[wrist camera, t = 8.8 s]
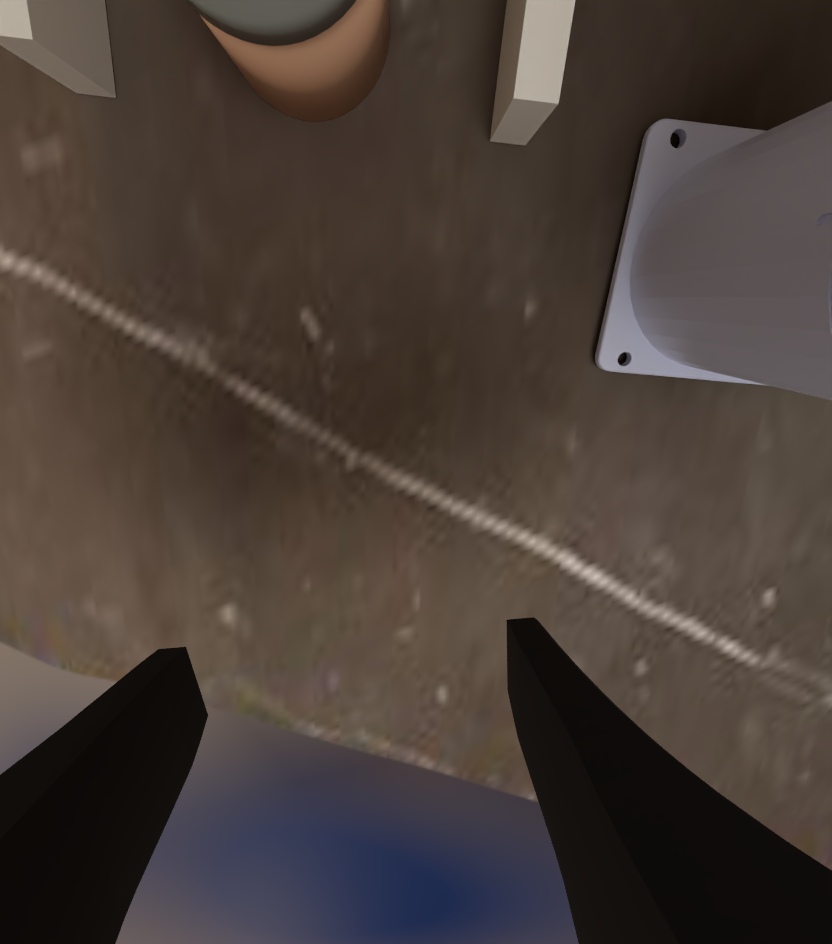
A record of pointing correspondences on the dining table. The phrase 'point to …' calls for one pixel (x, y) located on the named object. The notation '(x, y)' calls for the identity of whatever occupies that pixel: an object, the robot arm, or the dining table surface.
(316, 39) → the terracotta jar
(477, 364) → the dining table surface
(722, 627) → the dining table surface
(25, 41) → the u-frame with teal panels
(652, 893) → the robot arm
